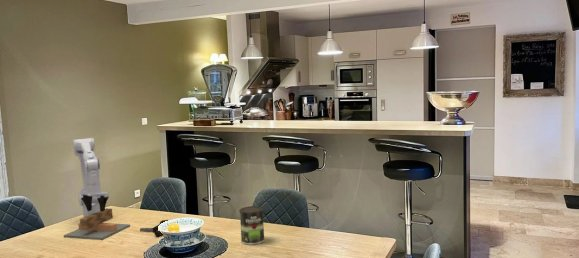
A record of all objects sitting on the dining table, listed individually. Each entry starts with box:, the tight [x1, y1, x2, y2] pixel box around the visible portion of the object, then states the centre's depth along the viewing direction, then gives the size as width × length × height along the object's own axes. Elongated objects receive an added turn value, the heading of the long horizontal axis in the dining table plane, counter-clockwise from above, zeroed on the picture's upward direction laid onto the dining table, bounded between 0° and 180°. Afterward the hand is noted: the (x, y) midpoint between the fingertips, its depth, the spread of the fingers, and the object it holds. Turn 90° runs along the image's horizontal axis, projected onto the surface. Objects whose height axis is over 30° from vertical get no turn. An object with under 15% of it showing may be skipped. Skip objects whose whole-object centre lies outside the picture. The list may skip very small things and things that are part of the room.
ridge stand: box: [63, 222, 131, 241], centre depth 217 cm, size 20×22×4 cm
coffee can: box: [239, 205, 265, 246], centre depth 193 cm, size 10×10×14 cm
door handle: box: [139, 219, 169, 238], centre depth 216 cm, size 3×20×16 cm
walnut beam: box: [79, 207, 114, 230], centre depth 216 cm, size 18×4×5 cm, turn 163°
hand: (96, 210), depth 216 cm, fingers open, 7 cm apart
